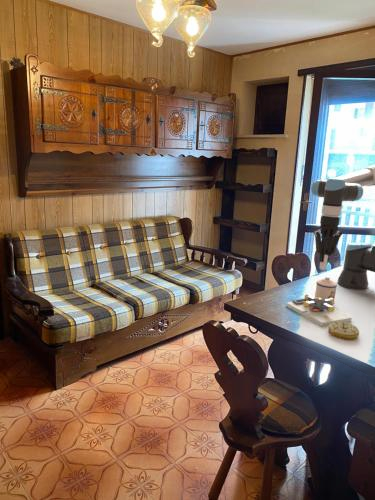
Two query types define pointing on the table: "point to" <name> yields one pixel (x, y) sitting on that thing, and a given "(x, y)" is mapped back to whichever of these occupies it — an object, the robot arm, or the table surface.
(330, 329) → the olive yellow engraved disc
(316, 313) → the level stand
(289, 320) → the table surface
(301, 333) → the table surface
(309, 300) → the capstan
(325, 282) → the teacup with lid
